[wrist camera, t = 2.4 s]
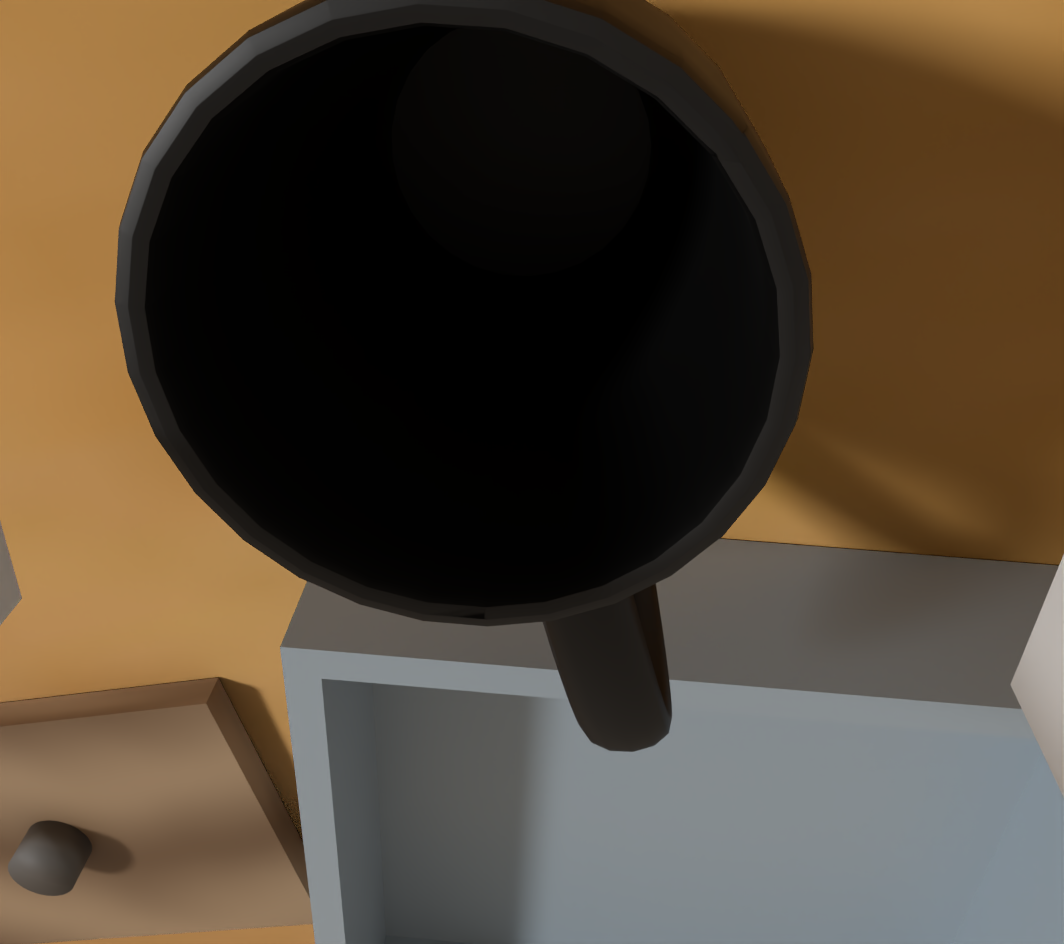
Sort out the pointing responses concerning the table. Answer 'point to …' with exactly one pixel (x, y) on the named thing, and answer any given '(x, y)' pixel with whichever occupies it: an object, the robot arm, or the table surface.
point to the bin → (690, 767)
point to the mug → (473, 316)
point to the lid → (140, 819)
